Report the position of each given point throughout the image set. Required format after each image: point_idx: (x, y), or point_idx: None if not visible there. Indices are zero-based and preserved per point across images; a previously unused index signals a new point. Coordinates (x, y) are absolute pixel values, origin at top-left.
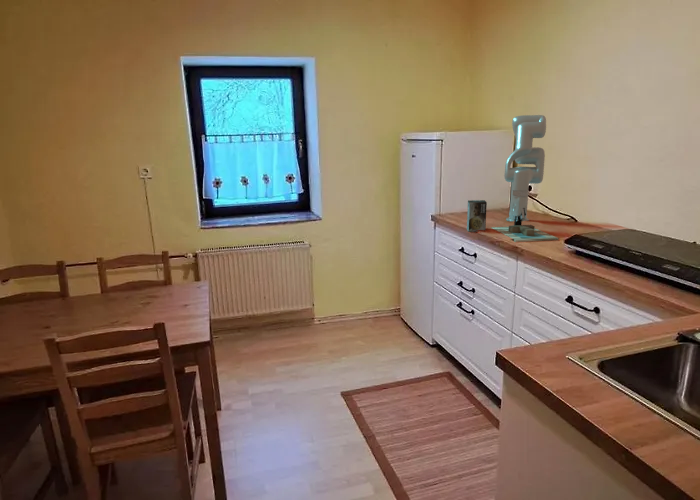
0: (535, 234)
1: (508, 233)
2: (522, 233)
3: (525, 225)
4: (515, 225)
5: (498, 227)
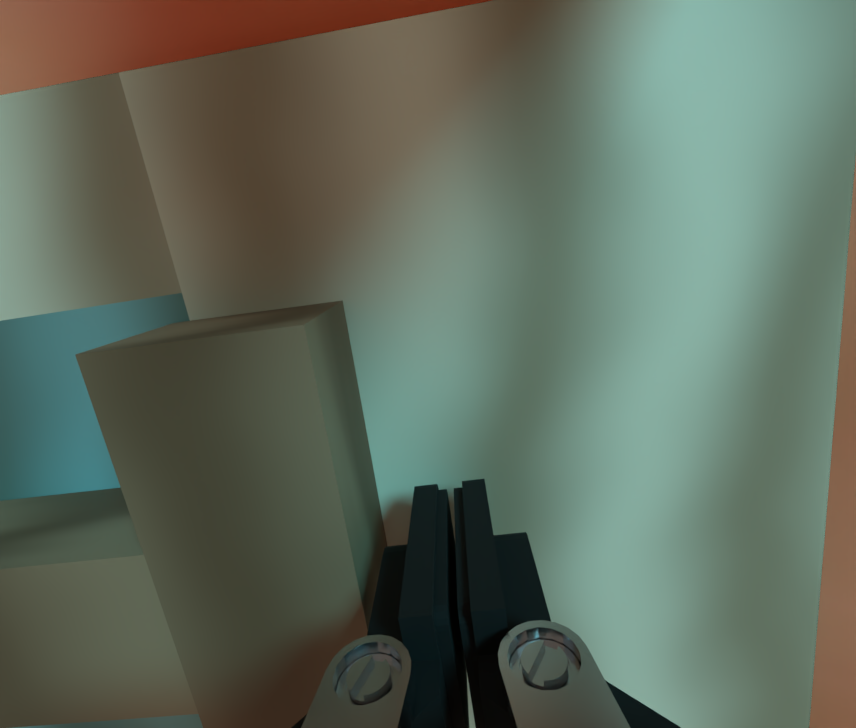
0: None
1: (99, 231)
2: (70, 498)
3: None
4: (325, 511)
5: (802, 176)
